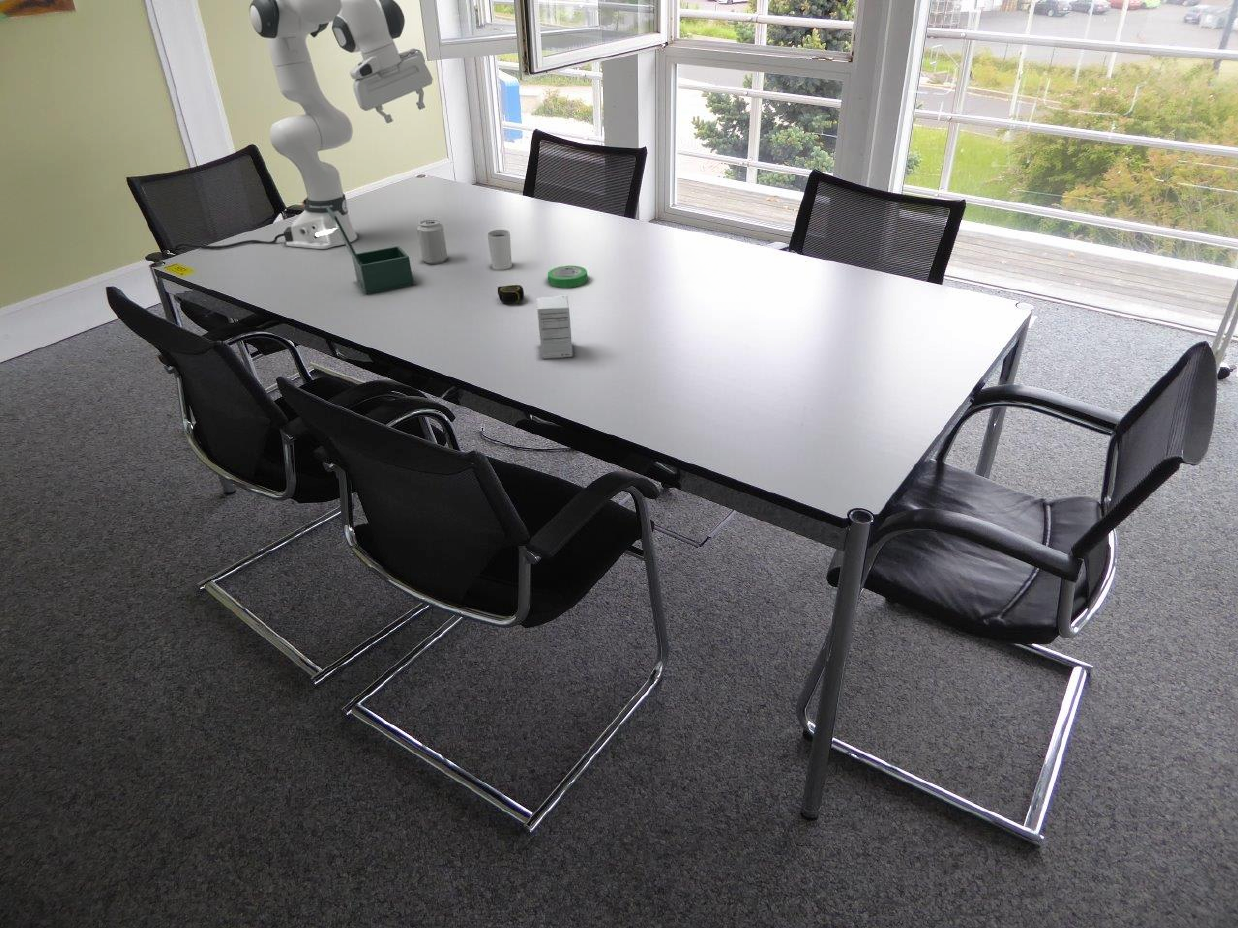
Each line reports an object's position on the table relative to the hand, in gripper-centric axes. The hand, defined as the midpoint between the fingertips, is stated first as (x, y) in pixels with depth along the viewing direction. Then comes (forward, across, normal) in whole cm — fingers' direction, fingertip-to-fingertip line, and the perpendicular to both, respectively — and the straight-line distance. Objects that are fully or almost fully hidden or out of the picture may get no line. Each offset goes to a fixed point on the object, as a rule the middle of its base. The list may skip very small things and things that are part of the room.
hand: (406, 115), depth 227 cm
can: (+43, +4, -20) cm, 47 cm away
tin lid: (+22, +27, -8) cm, 36 cm away
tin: (+40, +23, -9) cm, 47 cm away
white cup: (+48, -10, -3) cm, 50 cm away
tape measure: (+50, -1, +23) cm, 55 cm away
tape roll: (+54, -20, +19) cm, 60 cm away
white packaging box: (+53, +4, +59) cm, 79 cm away
